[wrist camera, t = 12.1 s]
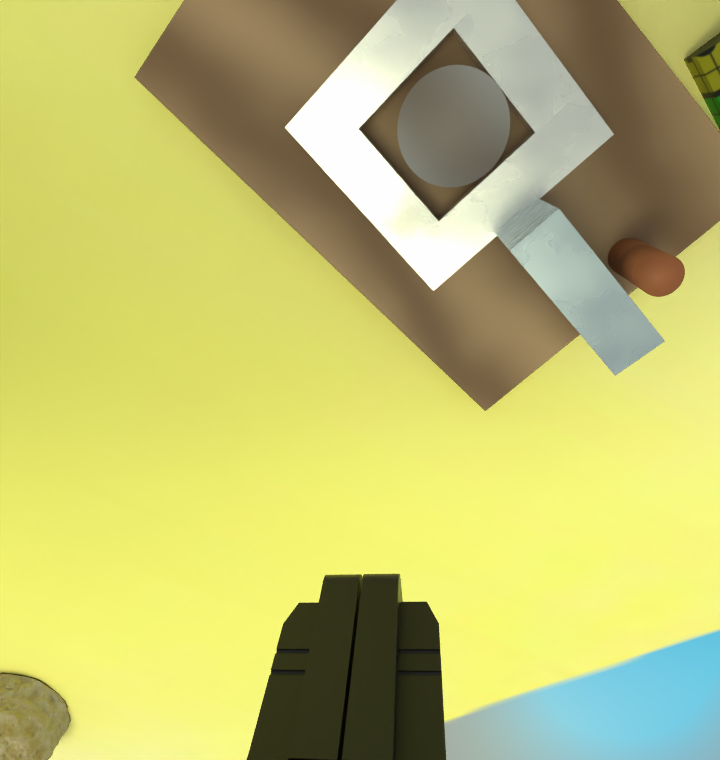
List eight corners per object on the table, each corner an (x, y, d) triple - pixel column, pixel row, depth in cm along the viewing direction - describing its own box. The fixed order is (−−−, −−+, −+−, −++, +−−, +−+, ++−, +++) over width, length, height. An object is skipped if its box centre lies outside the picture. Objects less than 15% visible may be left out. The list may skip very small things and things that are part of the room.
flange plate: (290, 127, 26) (260, 125, 21) (459, -63, 23) (470, -120, 18) (519, 380, 30) (539, 428, 25) (692, 252, 27) (756, 277, 22)
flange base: (482, 402, 33) (502, 479, 25) (145, 79, 27) (44, 57, 20) (747, 184, 27) (875, 202, 19) (381, -283, 21) (363, -508, 14)
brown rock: (28, 690, 55) (14, 815, 49) (-78, 692, 47) (-110, 839, 41) (93, 662, 52) (85, 791, 46) (-10, 659, 44) (-34, 812, 39)
